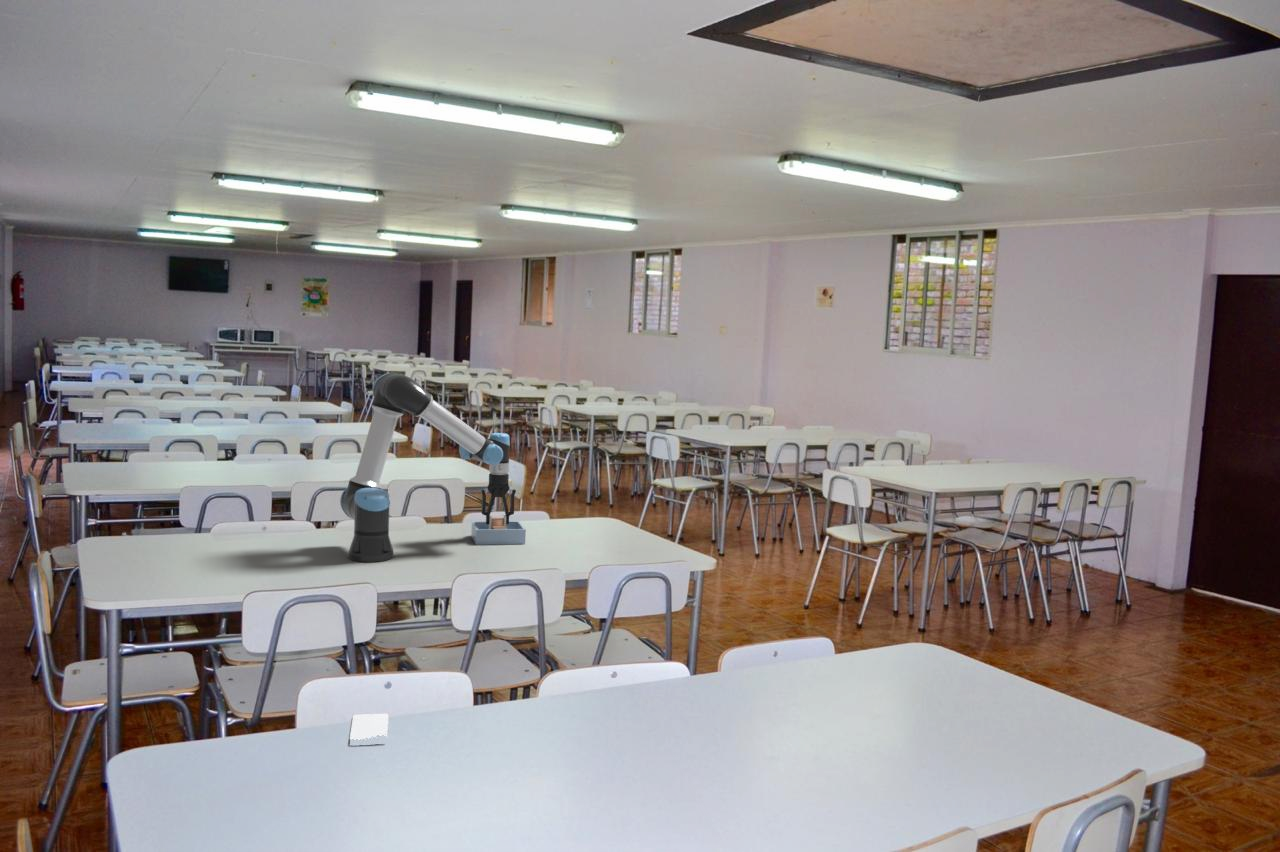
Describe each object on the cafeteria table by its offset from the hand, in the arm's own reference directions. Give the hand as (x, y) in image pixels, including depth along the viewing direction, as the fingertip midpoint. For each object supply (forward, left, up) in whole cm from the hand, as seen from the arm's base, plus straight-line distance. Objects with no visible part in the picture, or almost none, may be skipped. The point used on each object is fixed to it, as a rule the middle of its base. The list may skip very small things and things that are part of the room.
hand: (497, 532), depth 385 cm
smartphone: (-50, -177, -3) cm, 184 cm away
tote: (0, -3, -2) cm, 4 cm away
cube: (0, -7, -2) cm, 7 cm away
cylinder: (0, 0, -2) cm, 2 cm away
